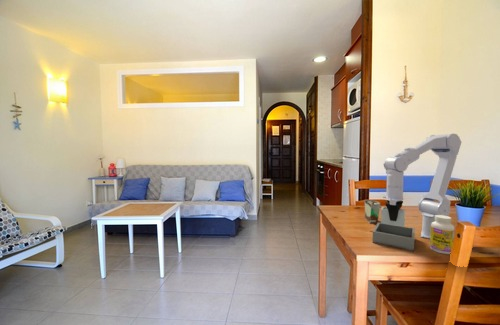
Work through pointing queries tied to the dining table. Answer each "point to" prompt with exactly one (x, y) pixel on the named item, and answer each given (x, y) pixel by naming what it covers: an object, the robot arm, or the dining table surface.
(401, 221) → the small crate
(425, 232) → the robot arm
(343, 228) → the dining table surface
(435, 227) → the supplement bottle
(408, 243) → the big crate
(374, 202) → the food container
